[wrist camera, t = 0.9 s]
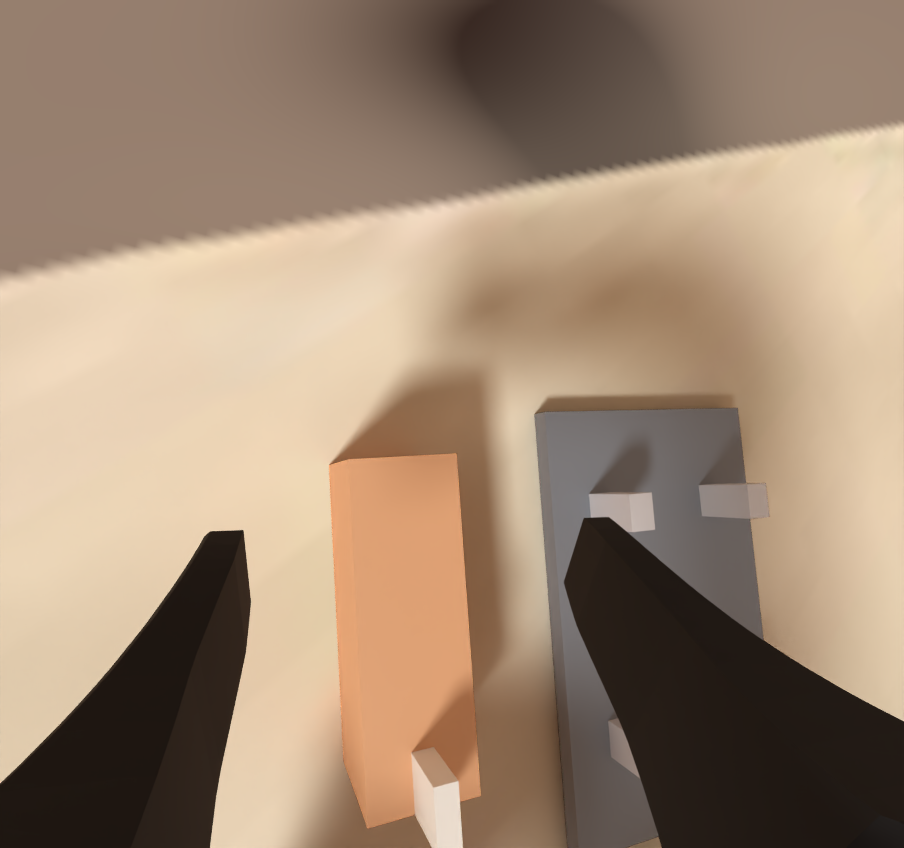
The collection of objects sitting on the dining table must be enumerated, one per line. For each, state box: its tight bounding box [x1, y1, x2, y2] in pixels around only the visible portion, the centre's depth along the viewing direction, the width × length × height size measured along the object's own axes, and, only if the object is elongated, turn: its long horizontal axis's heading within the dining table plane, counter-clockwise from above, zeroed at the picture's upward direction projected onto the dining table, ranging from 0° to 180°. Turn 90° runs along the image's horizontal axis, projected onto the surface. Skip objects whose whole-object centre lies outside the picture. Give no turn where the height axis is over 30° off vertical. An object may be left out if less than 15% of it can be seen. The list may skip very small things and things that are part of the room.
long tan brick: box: [329, 453, 481, 848], centre depth 21 cm, size 12×4×7 cm, turn 4°
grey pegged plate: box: [535, 408, 770, 848], centre depth 27 cm, size 20×12×4 cm, turn 3°
